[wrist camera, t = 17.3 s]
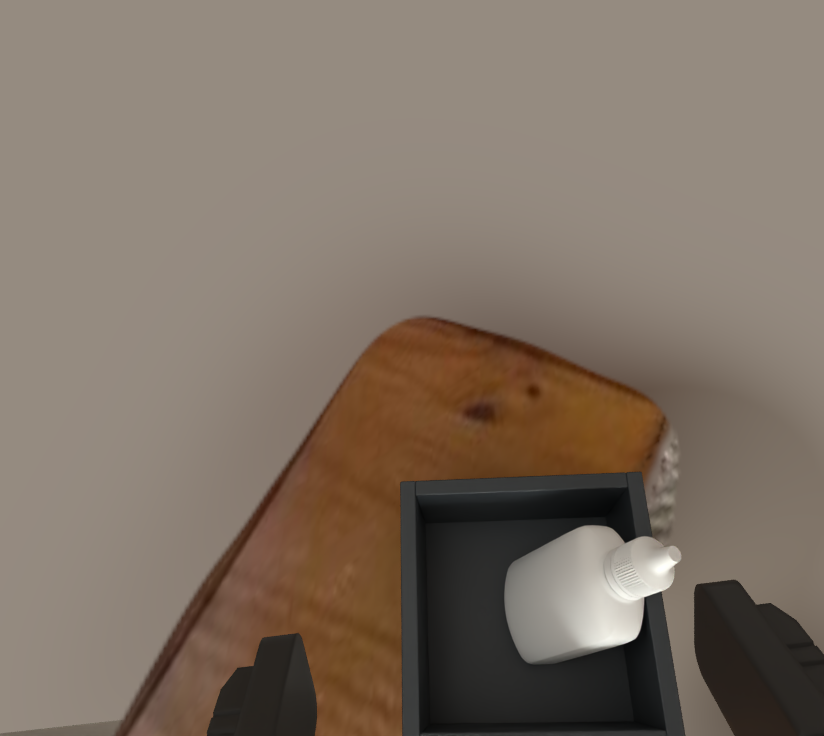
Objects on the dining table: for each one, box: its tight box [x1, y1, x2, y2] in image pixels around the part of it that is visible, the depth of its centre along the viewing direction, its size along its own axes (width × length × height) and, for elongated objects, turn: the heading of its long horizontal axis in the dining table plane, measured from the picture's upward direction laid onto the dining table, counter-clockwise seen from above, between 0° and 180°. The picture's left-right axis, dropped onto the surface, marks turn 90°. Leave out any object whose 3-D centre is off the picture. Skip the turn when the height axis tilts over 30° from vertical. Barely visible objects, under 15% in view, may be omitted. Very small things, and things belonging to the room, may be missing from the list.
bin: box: [400, 472, 685, 736], centre depth 36 cm, size 13×13×8 cm
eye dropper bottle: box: [504, 525, 681, 665], centre depth 33 cm, size 4×6×12 cm
